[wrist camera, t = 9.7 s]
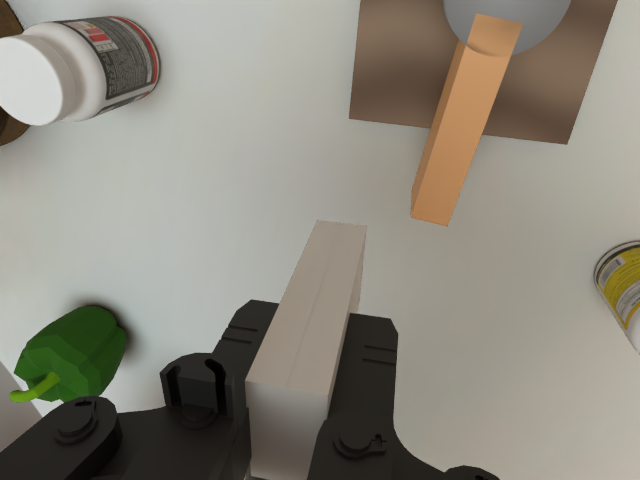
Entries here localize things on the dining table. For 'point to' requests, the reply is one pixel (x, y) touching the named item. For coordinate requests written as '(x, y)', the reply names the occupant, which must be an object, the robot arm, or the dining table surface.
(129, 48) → the pill bottle
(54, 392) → the bell pepper
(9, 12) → the wooden container
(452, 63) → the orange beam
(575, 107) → the base
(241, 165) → the dining table surface
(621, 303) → the supplement bottle
